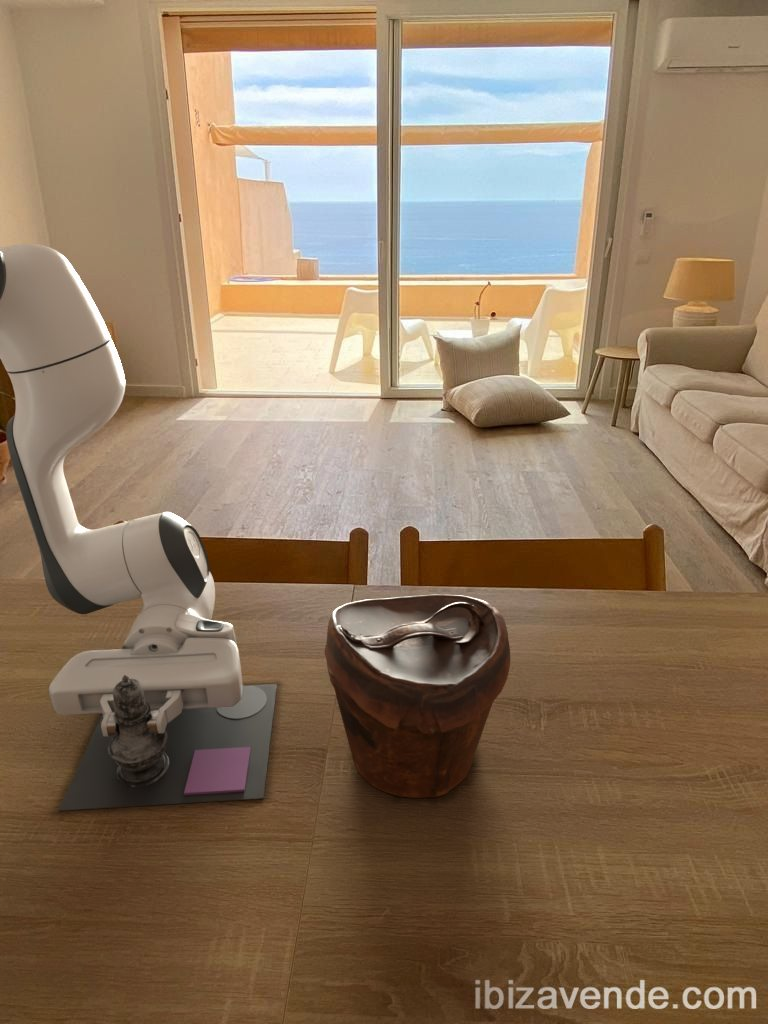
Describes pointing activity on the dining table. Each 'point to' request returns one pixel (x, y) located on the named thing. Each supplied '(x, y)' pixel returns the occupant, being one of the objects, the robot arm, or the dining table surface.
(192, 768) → the pink square tile
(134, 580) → the robot arm
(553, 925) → the dining table surface
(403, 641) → the brown pot
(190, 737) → the mat
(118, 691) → the chess piece
